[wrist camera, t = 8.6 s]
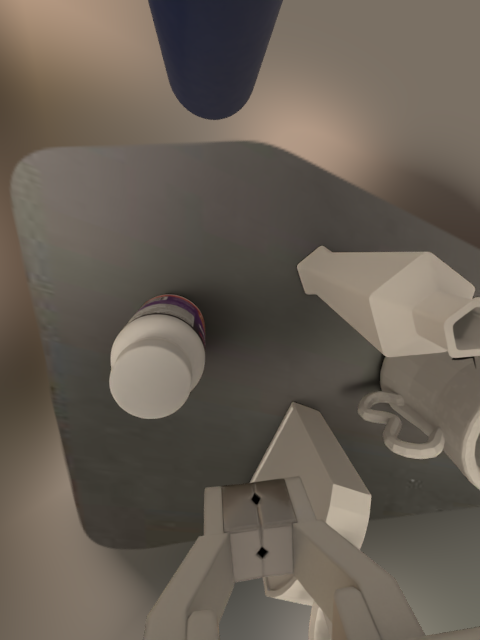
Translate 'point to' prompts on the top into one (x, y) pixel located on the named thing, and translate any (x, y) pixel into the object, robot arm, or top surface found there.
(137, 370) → the pill bottle
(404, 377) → the mug
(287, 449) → the gravestone
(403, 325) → the perfume bottle
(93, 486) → the top surface
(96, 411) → the top surface
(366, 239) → the top surface
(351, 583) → the robot arm
